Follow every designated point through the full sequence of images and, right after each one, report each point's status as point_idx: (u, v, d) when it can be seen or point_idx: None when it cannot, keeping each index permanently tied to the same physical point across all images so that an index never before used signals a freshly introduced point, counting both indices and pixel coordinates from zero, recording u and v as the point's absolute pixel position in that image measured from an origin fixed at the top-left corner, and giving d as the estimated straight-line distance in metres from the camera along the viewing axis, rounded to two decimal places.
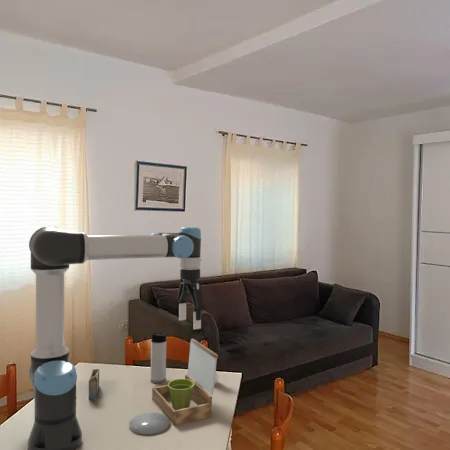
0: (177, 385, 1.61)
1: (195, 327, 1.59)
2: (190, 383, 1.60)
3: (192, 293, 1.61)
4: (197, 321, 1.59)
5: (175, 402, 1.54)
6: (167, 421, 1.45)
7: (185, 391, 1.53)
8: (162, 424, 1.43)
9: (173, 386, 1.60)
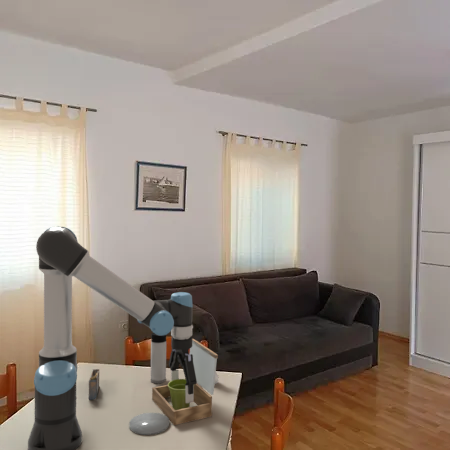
0: (177, 385, 1.61)
1: (187, 401, 1.51)
2: None
3: (184, 364, 1.53)
4: (189, 395, 1.51)
5: (175, 402, 1.54)
6: (167, 421, 1.45)
7: (185, 391, 1.53)
8: (162, 424, 1.43)
9: (173, 386, 1.60)
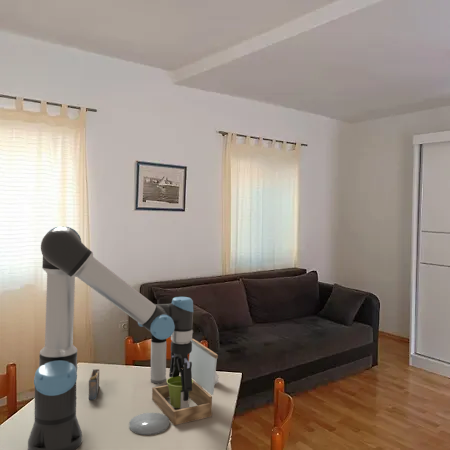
0: (176, 382, 1.60)
1: (182, 407, 1.52)
2: None
3: (182, 370, 1.54)
4: (184, 401, 1.53)
5: (174, 399, 1.54)
6: (167, 421, 1.45)
7: None
8: (162, 424, 1.43)
9: (172, 383, 1.59)
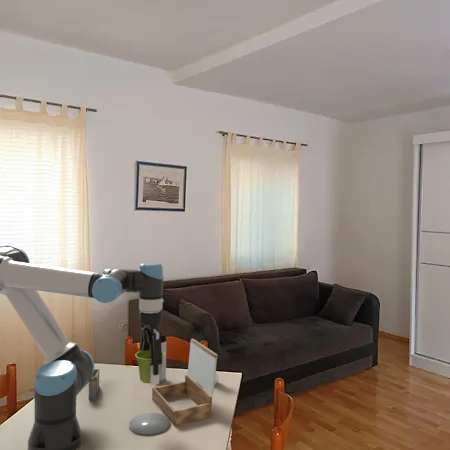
0: (147, 356, 1.47)
1: (152, 383, 1.39)
2: None
3: (151, 342, 1.40)
4: (155, 376, 1.40)
5: (143, 374, 1.41)
6: (167, 421, 1.45)
7: None
8: (162, 424, 1.43)
9: (142, 357, 1.46)
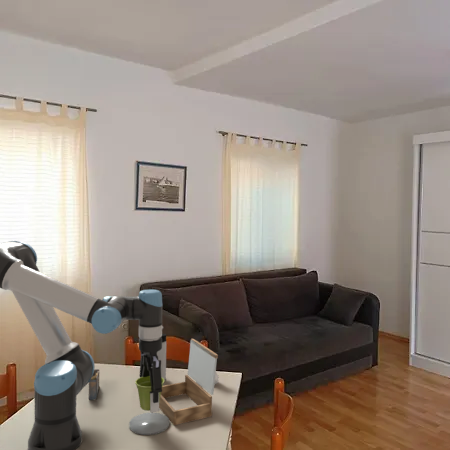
0: (147, 383, 1.48)
1: (152, 410, 1.40)
2: None
3: (151, 369, 1.41)
4: (154, 403, 1.40)
5: (143, 401, 1.41)
6: (167, 421, 1.45)
7: None
8: (162, 424, 1.43)
9: (142, 384, 1.46)
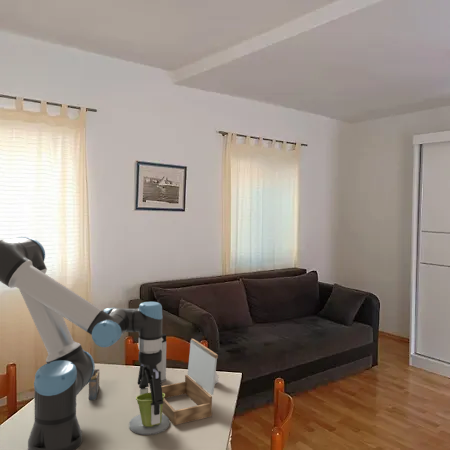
0: (148, 400, 1.46)
1: (153, 422, 1.38)
2: None
3: (151, 381, 1.40)
4: (155, 415, 1.39)
5: (145, 416, 1.39)
6: (167, 421, 1.45)
7: None
8: (162, 424, 1.43)
9: None
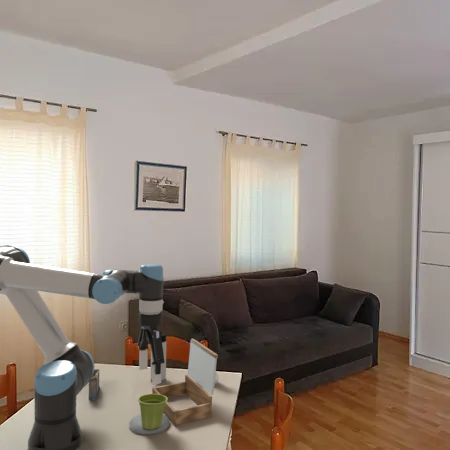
0: (149, 401, 1.45)
1: (154, 382, 1.37)
2: (163, 398, 1.45)
3: (152, 342, 1.40)
4: (157, 375, 1.38)
5: (145, 419, 1.38)
6: (167, 421, 1.45)
7: (156, 407, 1.38)
8: (162, 424, 1.43)
9: (144, 402, 1.44)
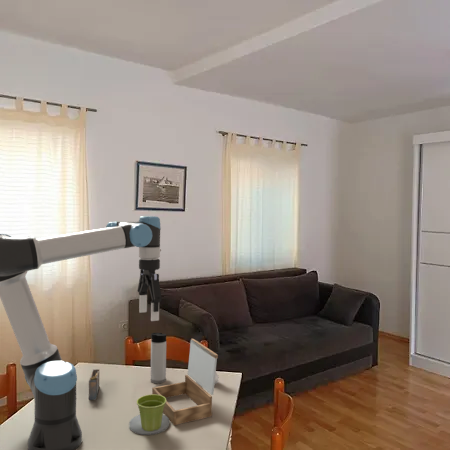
0: (148, 402, 1.44)
1: (153, 319, 1.54)
2: (162, 399, 1.44)
3: (150, 284, 1.56)
4: (155, 313, 1.54)
5: (145, 421, 1.38)
6: (167, 421, 1.45)
7: (155, 409, 1.37)
8: (162, 424, 1.43)
9: (143, 403, 1.43)
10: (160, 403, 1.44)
